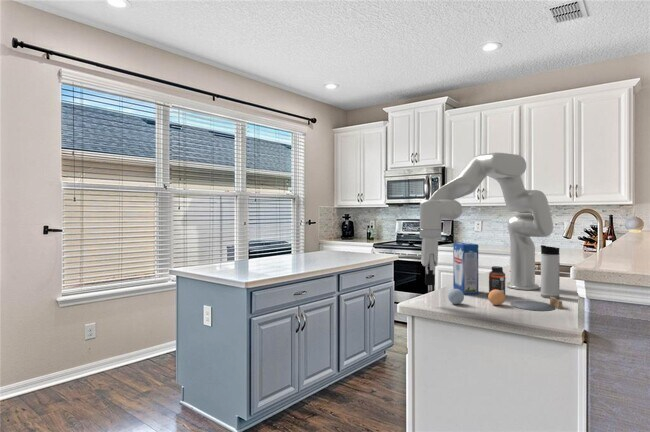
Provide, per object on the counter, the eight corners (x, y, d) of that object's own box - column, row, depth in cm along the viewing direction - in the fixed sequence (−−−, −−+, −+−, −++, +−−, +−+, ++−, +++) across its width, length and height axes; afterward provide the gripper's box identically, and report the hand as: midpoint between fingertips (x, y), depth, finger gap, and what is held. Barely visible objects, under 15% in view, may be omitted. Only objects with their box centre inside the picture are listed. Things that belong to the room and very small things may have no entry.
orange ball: (486, 302, 146) (486, 287, 146) (502, 303, 145) (502, 288, 145) (490, 306, 141) (490, 291, 141) (507, 307, 140) (507, 291, 140)
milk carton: (453, 289, 169) (453, 242, 169) (467, 289, 170) (467, 242, 170) (463, 295, 160) (463, 244, 159) (478, 294, 160) (478, 244, 160)
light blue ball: (446, 302, 148) (446, 287, 148) (462, 302, 147) (462, 287, 147) (449, 305, 143) (449, 290, 143) (465, 306, 142) (465, 290, 142)
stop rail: (550, 303, 144) (550, 296, 144) (553, 304, 144) (553, 297, 144) (558, 308, 137) (558, 301, 137) (562, 308, 137) (562, 301, 137)
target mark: (505, 300, 149) (505, 300, 149) (545, 301, 147) (545, 301, 147) (517, 310, 135) (517, 309, 135) (562, 311, 133) (562, 310, 133)
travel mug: (536, 295, 157) (536, 244, 157) (552, 295, 158) (552, 244, 158) (546, 299, 151) (546, 246, 151) (563, 298, 152) (563, 245, 151)
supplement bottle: (507, 297, 155) (507, 268, 154) (490, 296, 156) (490, 267, 156) (503, 294, 161) (503, 265, 160) (487, 293, 162) (487, 265, 162)
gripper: (417, 232, 152) (417, 281, 152) (421, 235, 137) (421, 288, 138) (438, 233, 151) (437, 281, 151) (444, 235, 136) (443, 289, 137)
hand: (429, 284), depth 144 cm, fingers closed
